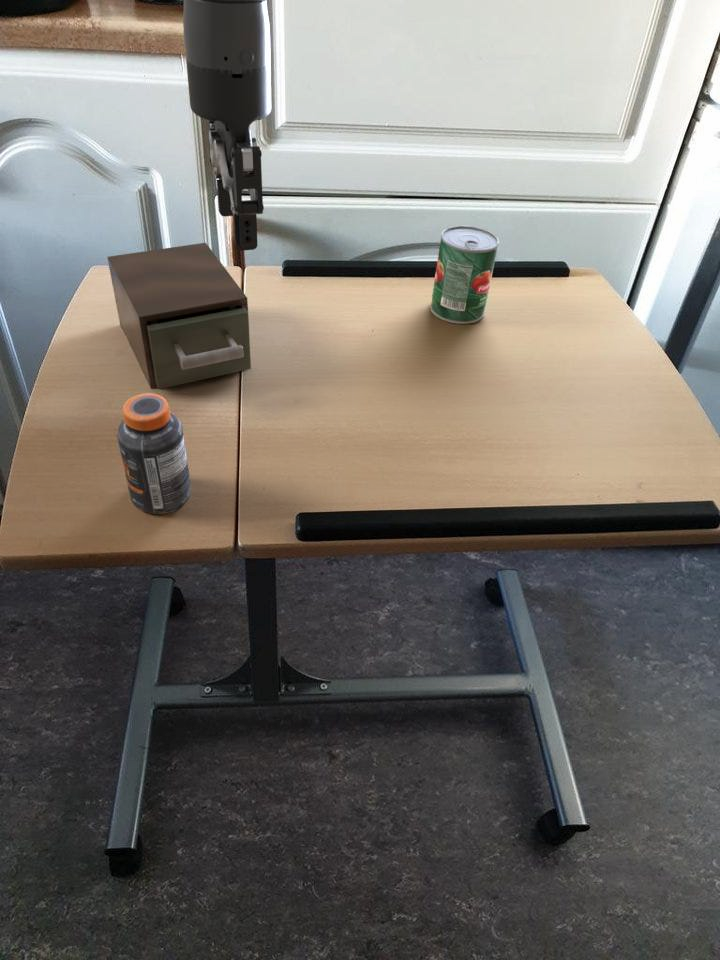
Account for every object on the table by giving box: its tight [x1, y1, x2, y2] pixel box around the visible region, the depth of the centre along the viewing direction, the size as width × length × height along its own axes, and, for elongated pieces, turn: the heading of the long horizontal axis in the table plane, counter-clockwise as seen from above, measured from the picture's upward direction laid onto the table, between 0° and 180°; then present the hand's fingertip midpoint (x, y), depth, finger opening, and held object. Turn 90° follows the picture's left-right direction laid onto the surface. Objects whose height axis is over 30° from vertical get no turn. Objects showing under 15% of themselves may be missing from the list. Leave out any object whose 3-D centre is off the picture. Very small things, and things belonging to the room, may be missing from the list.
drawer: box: [147, 306, 252, 390], centre depth 85 cm, size 19×11×8 cm, turn 27°
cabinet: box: [106, 242, 252, 389], centre depth 88 cm, size 16×13×10 cm
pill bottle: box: [116, 393, 192, 515], centre depth 67 cm, size 6×6×11 cm
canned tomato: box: [429, 225, 500, 325], centre depth 99 cm, size 8×8×11 cm
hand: (237, 231), depth 74 cm, fingers open, 8 cm apart
